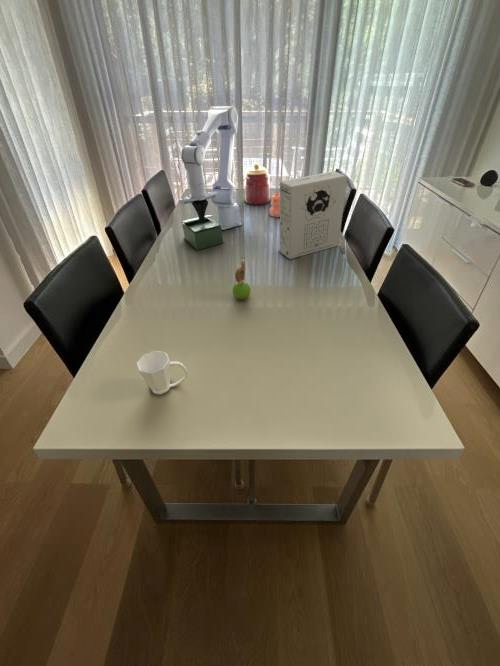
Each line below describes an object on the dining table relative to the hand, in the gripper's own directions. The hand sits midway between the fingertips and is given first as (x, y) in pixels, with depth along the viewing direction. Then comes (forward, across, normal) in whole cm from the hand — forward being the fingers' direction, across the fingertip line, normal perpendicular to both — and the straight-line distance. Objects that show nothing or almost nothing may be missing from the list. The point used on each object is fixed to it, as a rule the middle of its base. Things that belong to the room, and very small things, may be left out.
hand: (201, 219), depth 131 cm
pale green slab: (+1, 0, +5) cm, 5 cm away
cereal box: (+9, +30, -30) cm, 43 cm away
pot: (+8, 0, +4) cm, 10 cm away
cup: (+9, -39, -68) cm, 79 cm away
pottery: (+9, +45, +6) cm, 46 cm away
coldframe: (+9, 0, +2) cm, 9 cm away
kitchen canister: (+9, +43, +30) cm, 54 cm away
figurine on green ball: (+9, -7, -44) cm, 46 cm away
